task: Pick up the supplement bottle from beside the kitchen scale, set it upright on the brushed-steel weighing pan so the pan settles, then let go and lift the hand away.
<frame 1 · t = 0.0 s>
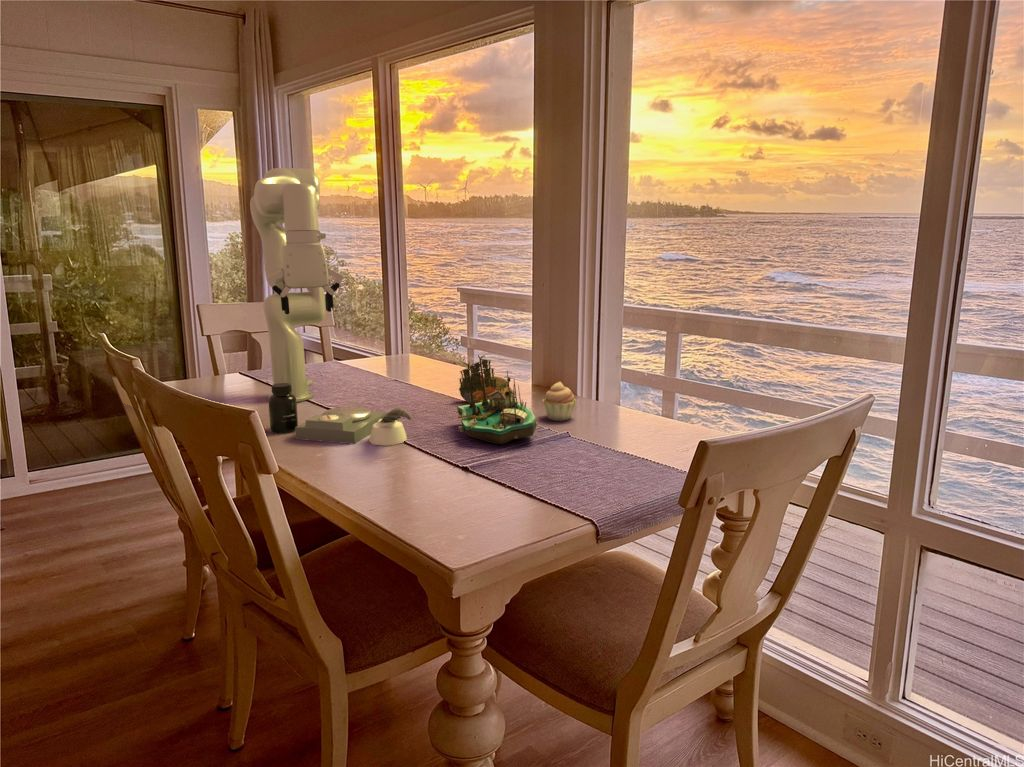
hand: (308, 312, 170), 31 cm above the table, tool pointing down, fingers open, 9 cm apart
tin: (485, 404, 209), on the table
cupcake: (559, 418, 194), on the table
diorama: (493, 434, 180), on the table
scale pan: (346, 414, 185), point 4 cm above the table, slide at 0.5 cm
inkwell: (396, 445, 172), on the table
supplement bottle: (284, 430, 185), on the table
scale: (343, 430, 183), on the table
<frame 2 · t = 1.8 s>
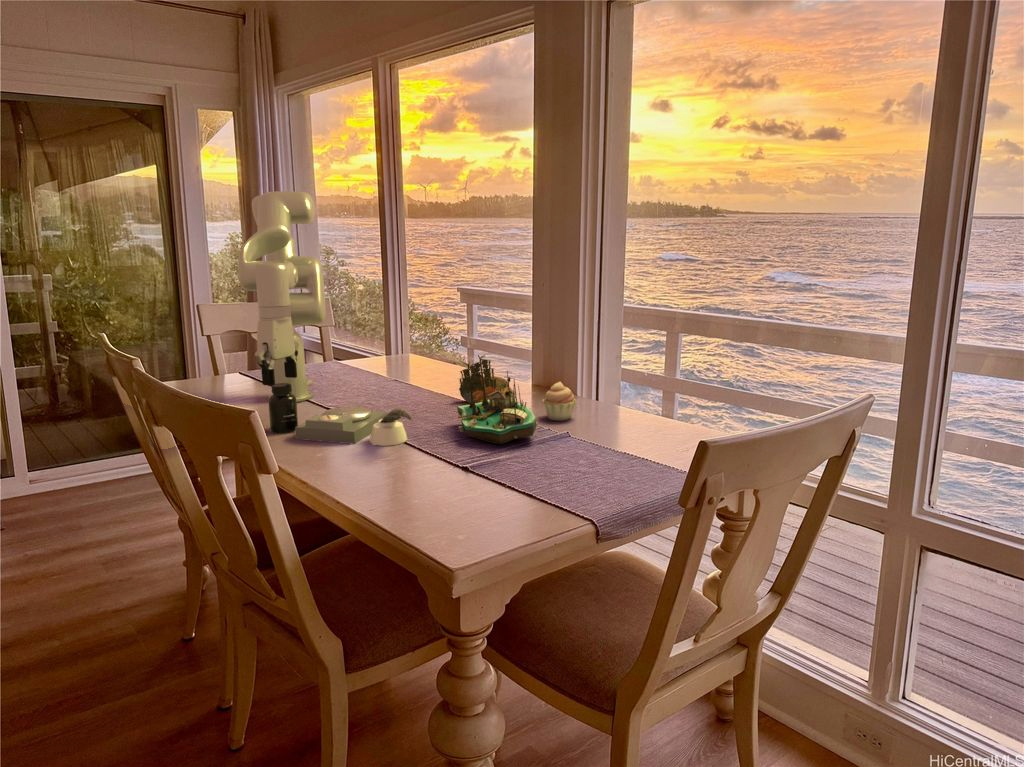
hand: (280, 381, 181), 13 cm above the table, tool pointing down, fingers open, 9 cm apart
nothing on the table moved.
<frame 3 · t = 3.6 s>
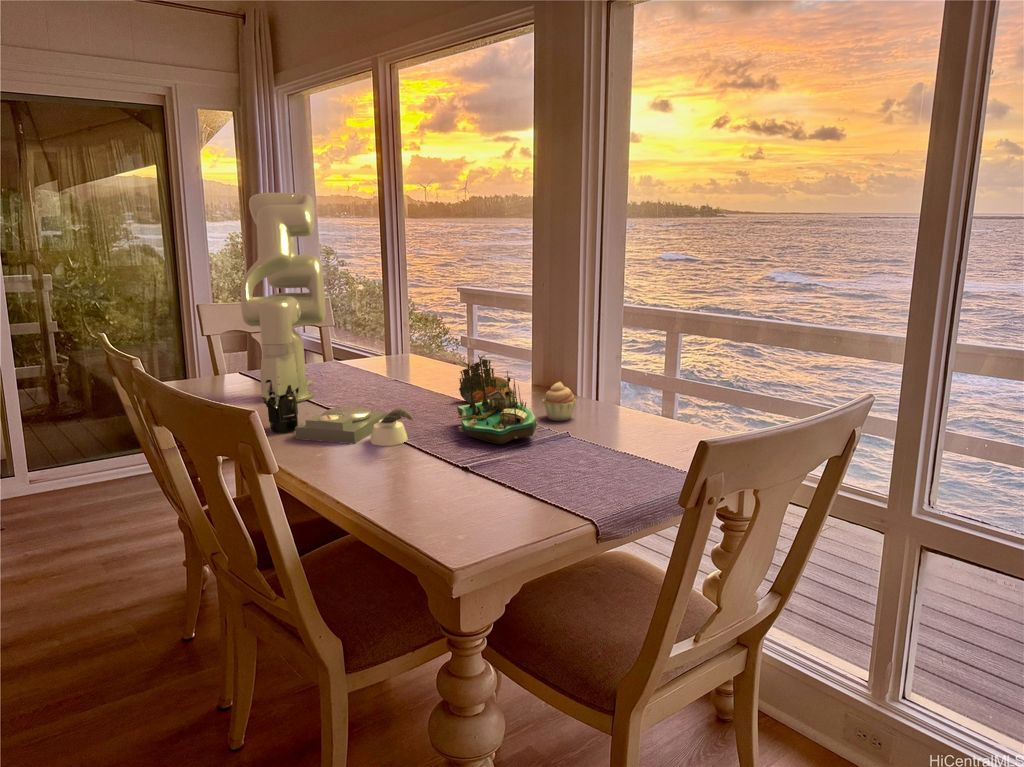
hand: (283, 417, 184), 3 cm above the table, tool pointing down, fingers closed on supplement bottle, 6 cm apart
supplement bottle: (284, 430, 185), on the table, touching gripper
everything else where it was.
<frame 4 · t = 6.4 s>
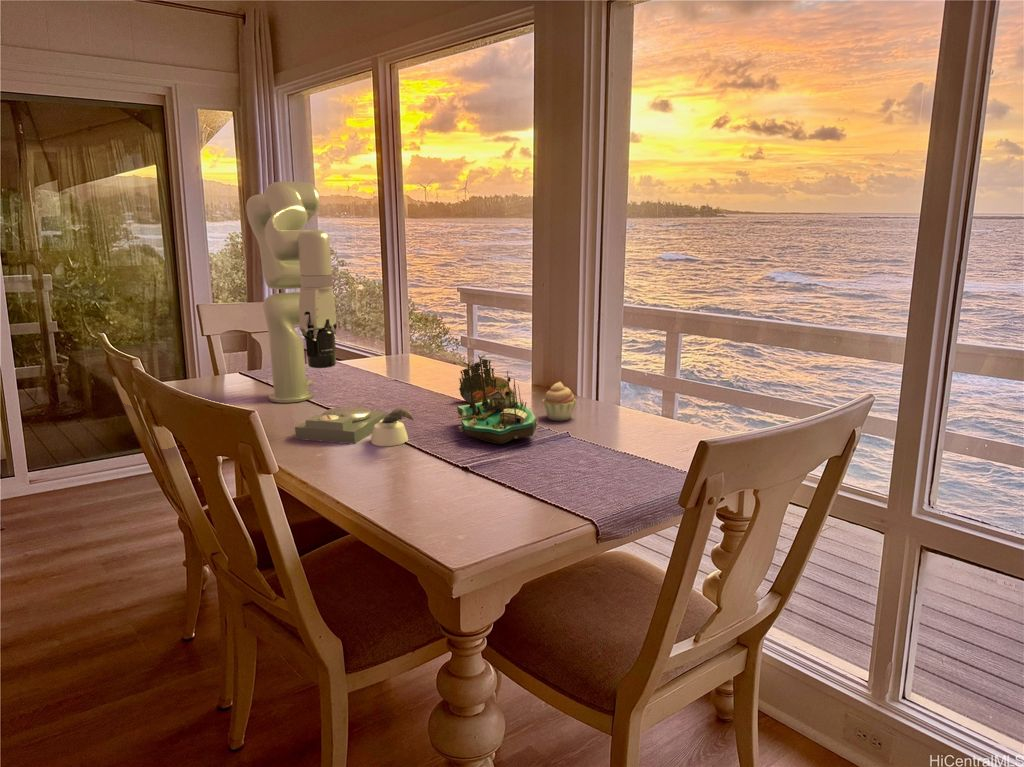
hand: (321, 353, 181), 20 cm above the table, tool pointing down, fingers closed on supplement bottle, 6 cm apart
supplement bottle: (322, 366, 182), point 16 cm above the table, touching gripper
everything else where it was.
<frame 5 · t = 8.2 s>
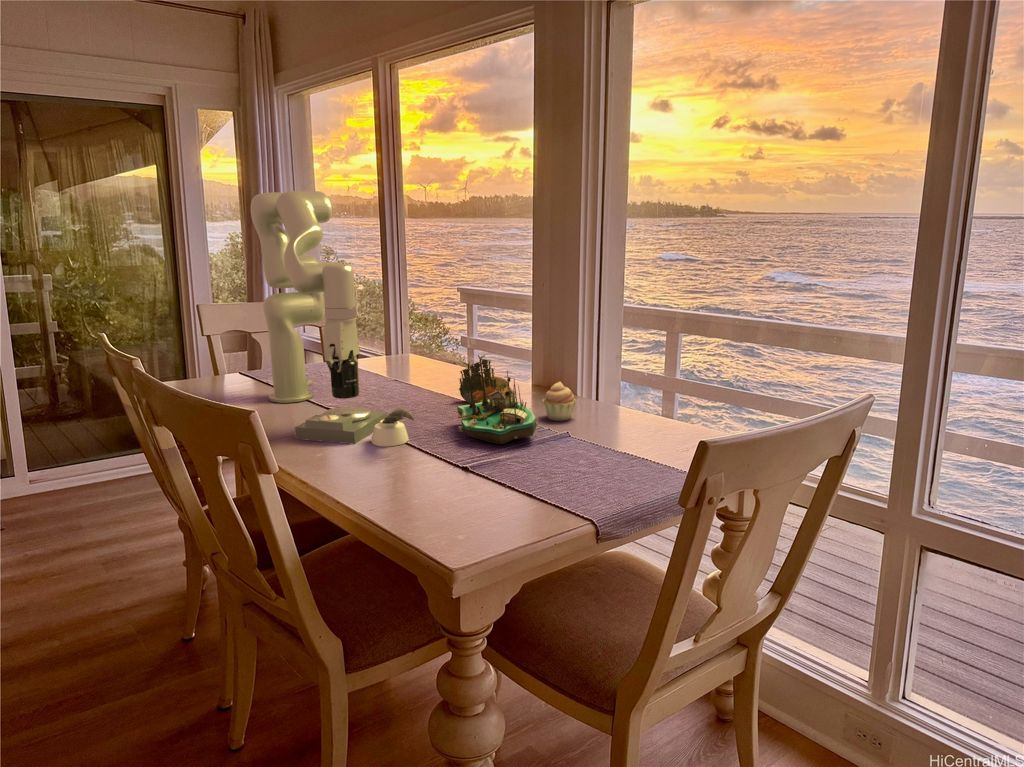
hand: (345, 383, 183), 12 cm above the table, tool pointing down, fingers closed on supplement bottle, 6 cm apart
supplement bottle: (346, 396, 184), point 8 cm above the table, touching gripper
everything else where it was.
when the fingers open (10 cm above the table, at t = 9.6 s): supplement bottle drops 2 cm, resting on scale pan.
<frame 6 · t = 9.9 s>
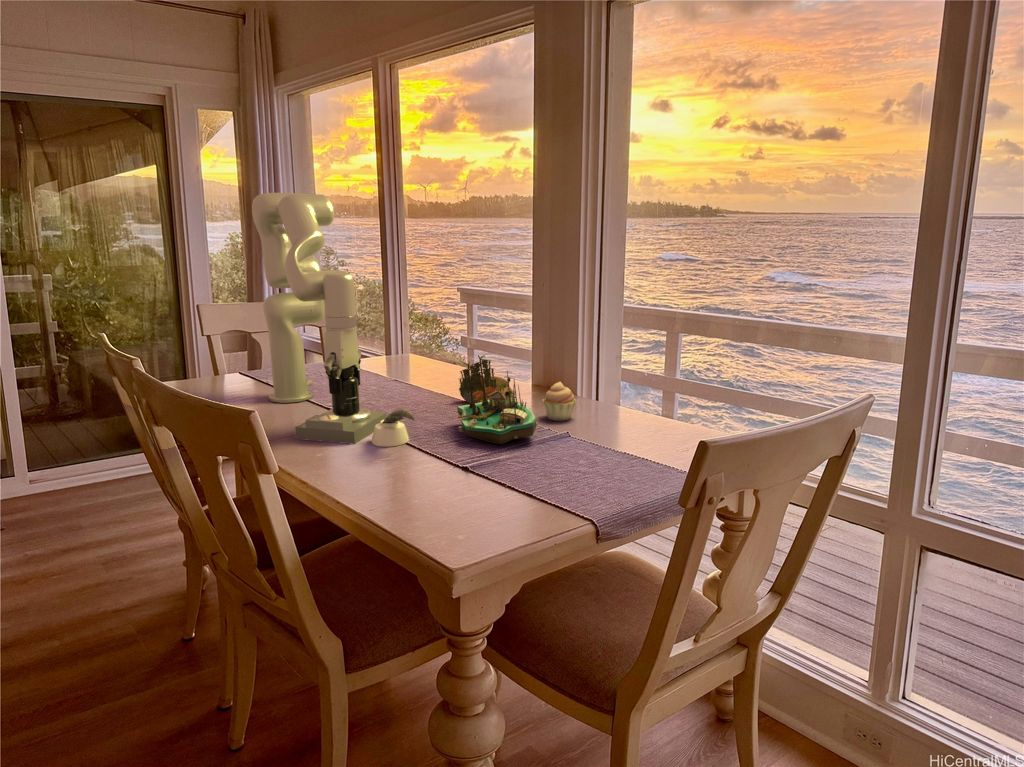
hand: (345, 389, 183), 10 cm above the table, tool pointing down, fingers open, 9 cm apart
scale pan: (347, 414, 185), point 4 cm above the table, slide at 0.7 cm, touching supplement bottle
supplement bottle: (346, 413, 185), point 4 cm above the table, touching scale pan
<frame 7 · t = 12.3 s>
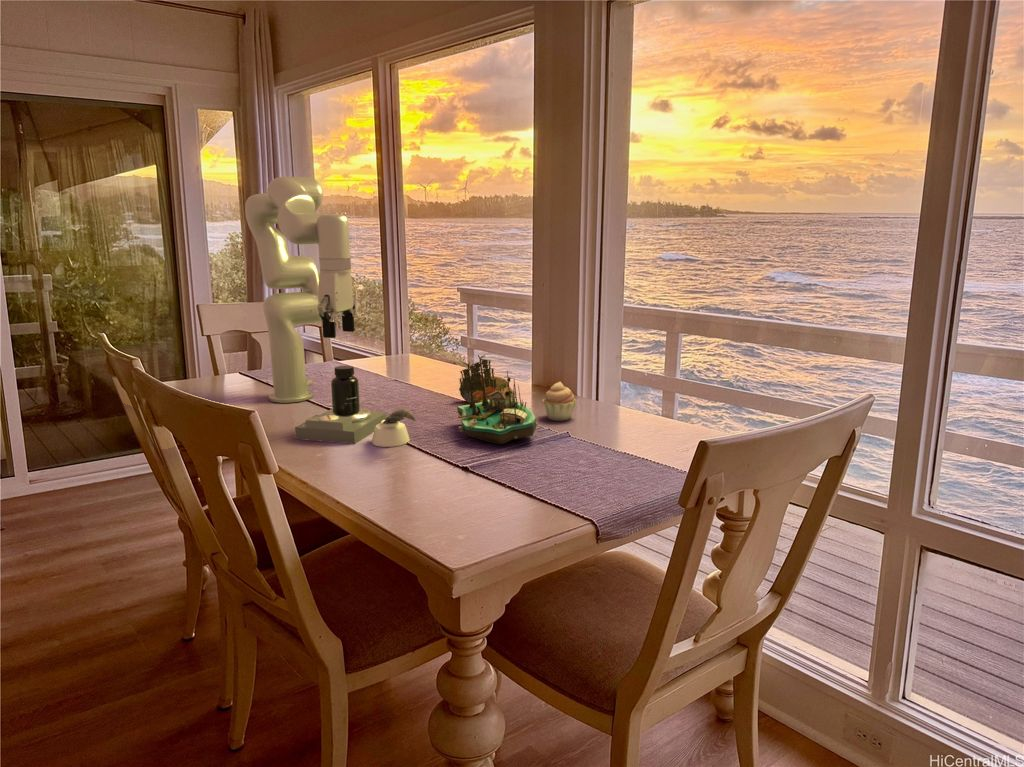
hand: (339, 334, 181), 24 cm above the table, tool pointing down, fingers open, 9 cm apart
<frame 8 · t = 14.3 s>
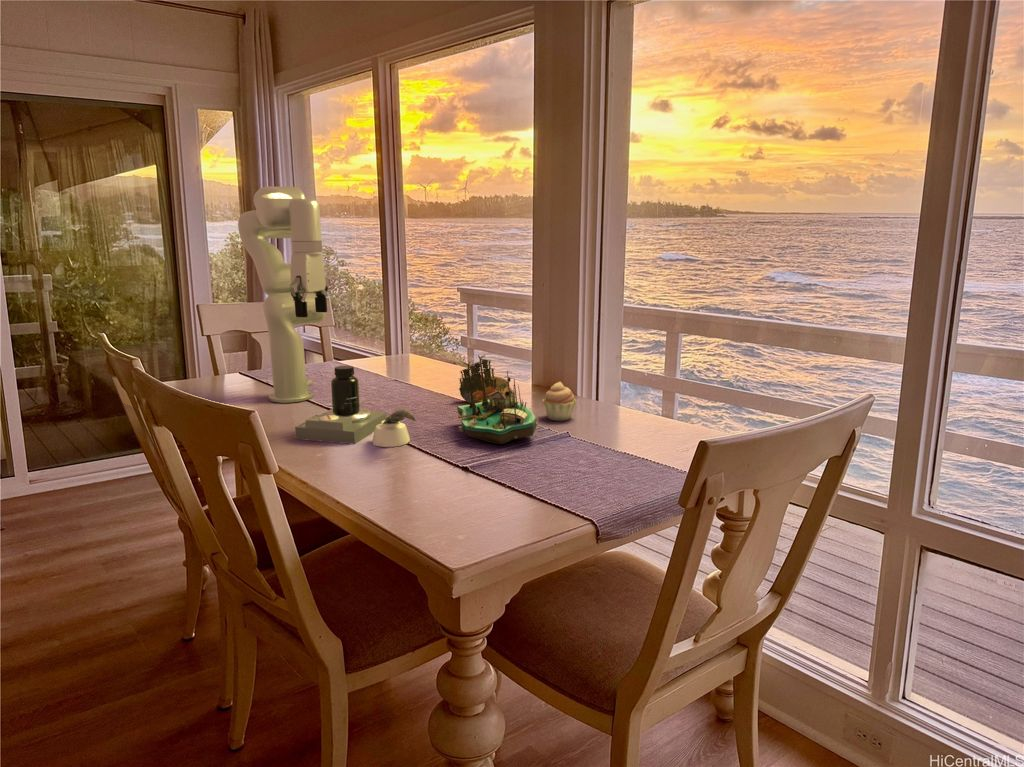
hand: (311, 314, 189), 28 cm above the table, tool pointing down, fingers open, 9 cm apart
at the end: supplement bottle inside the target area on the scale (0.2 cm from its centre), point 3.8 cm above the scale's base; supplement bottle tilted 0°; supplement bottle touching scale pan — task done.
